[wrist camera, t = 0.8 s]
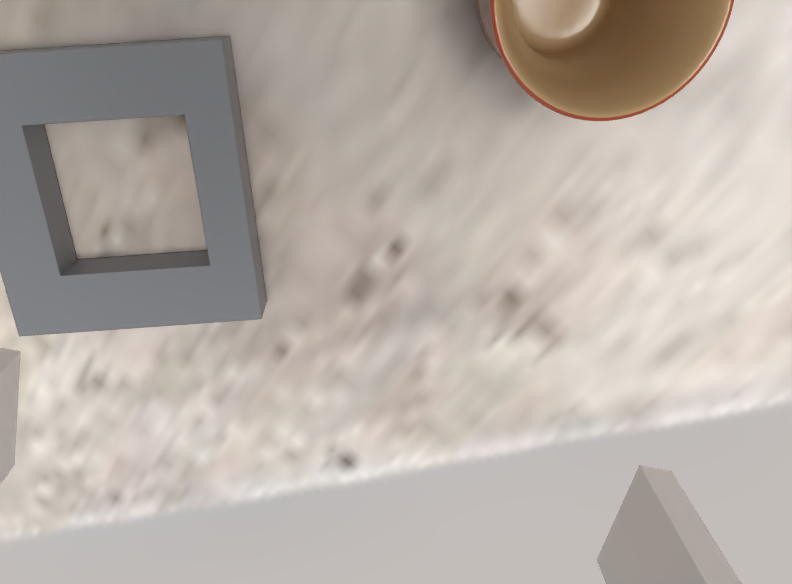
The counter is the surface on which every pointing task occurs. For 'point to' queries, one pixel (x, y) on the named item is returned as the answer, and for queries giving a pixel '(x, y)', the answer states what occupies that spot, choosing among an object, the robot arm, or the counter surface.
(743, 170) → the counter surface
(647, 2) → the mug
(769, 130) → the counter surface
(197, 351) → the counter surface
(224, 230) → the grey flat pieces
